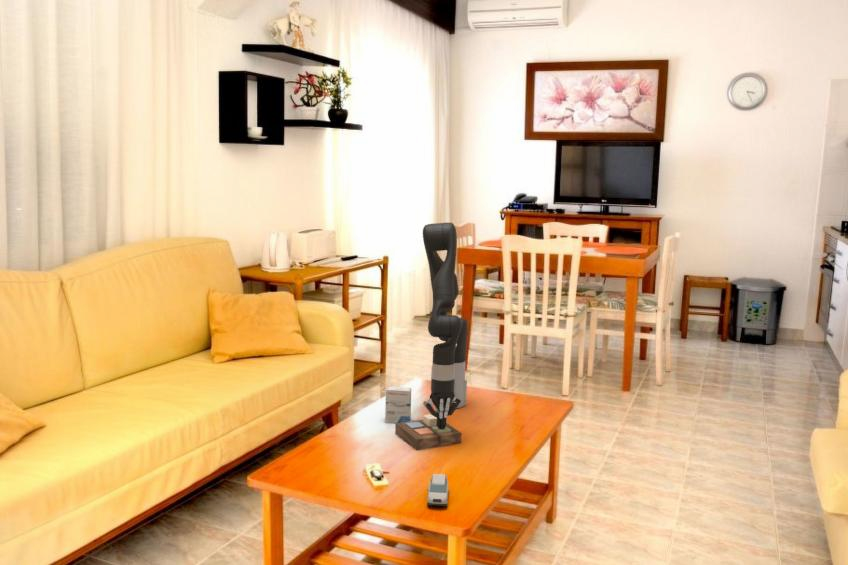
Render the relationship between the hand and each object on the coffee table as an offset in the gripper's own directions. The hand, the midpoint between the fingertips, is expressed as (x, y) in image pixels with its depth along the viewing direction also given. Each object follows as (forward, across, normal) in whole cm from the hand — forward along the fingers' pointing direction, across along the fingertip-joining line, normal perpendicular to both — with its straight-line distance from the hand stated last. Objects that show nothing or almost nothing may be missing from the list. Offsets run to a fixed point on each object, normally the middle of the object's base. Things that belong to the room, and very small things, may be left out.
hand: (441, 428), depth 244 cm
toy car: (+5, +21, +38) cm, 44 cm away
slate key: (+3, +6, -6) cm, 9 cm away
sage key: (+3, 0, 0) cm, 3 cm away
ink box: (+4, +5, -22) cm, 23 cm away
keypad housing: (+4, +3, -3) cm, 6 cm away
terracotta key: (+3, +6, 0) cm, 7 cm away
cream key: (+1, 0, -6) cm, 6 cm away
